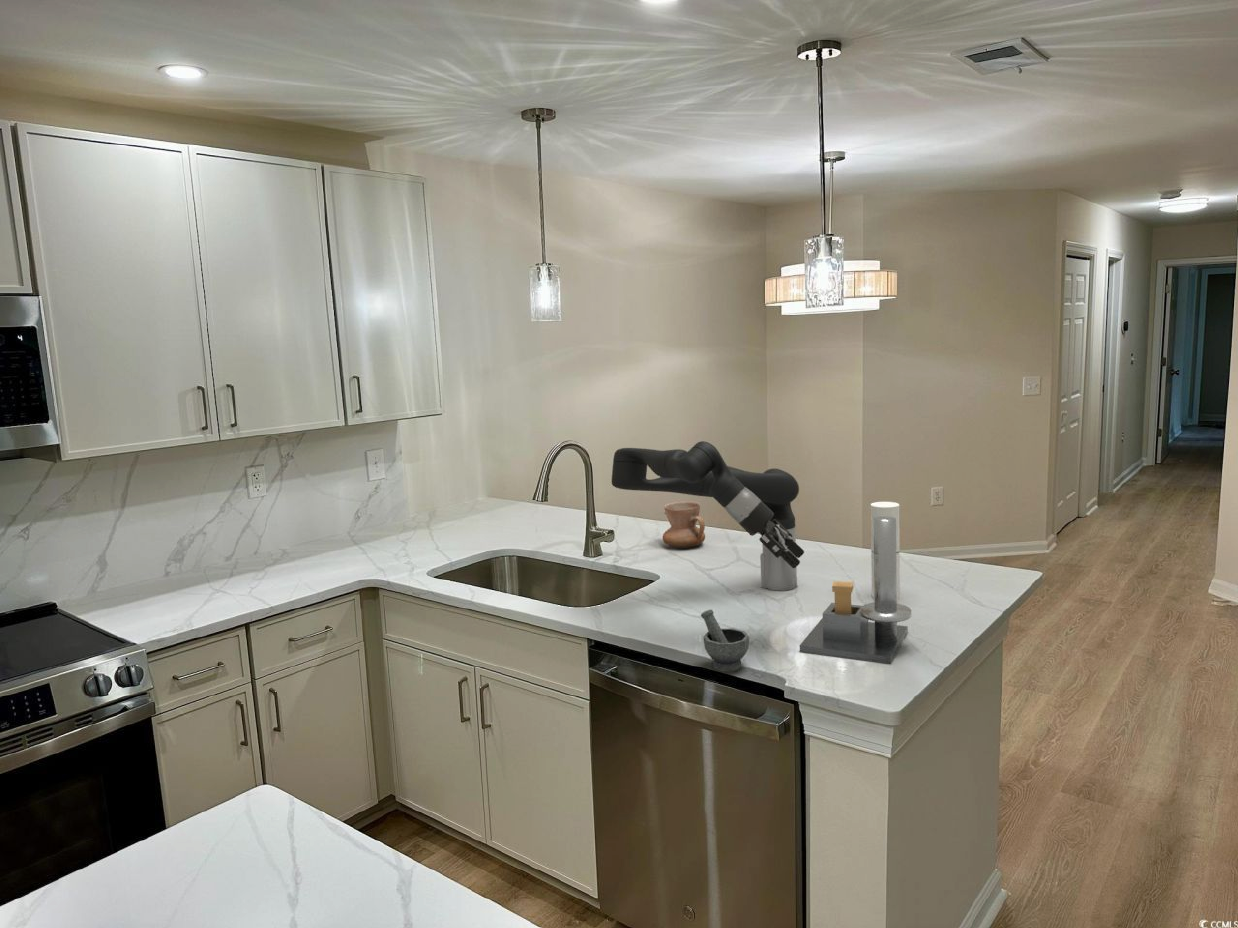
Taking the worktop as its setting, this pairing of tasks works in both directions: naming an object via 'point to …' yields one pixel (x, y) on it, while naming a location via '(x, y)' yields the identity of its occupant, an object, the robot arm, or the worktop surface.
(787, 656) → the worktop surface
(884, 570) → the grey fixture with cylinder
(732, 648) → the mortar and pestle
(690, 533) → the ceramic jug
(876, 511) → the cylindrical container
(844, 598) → the orange square peg
